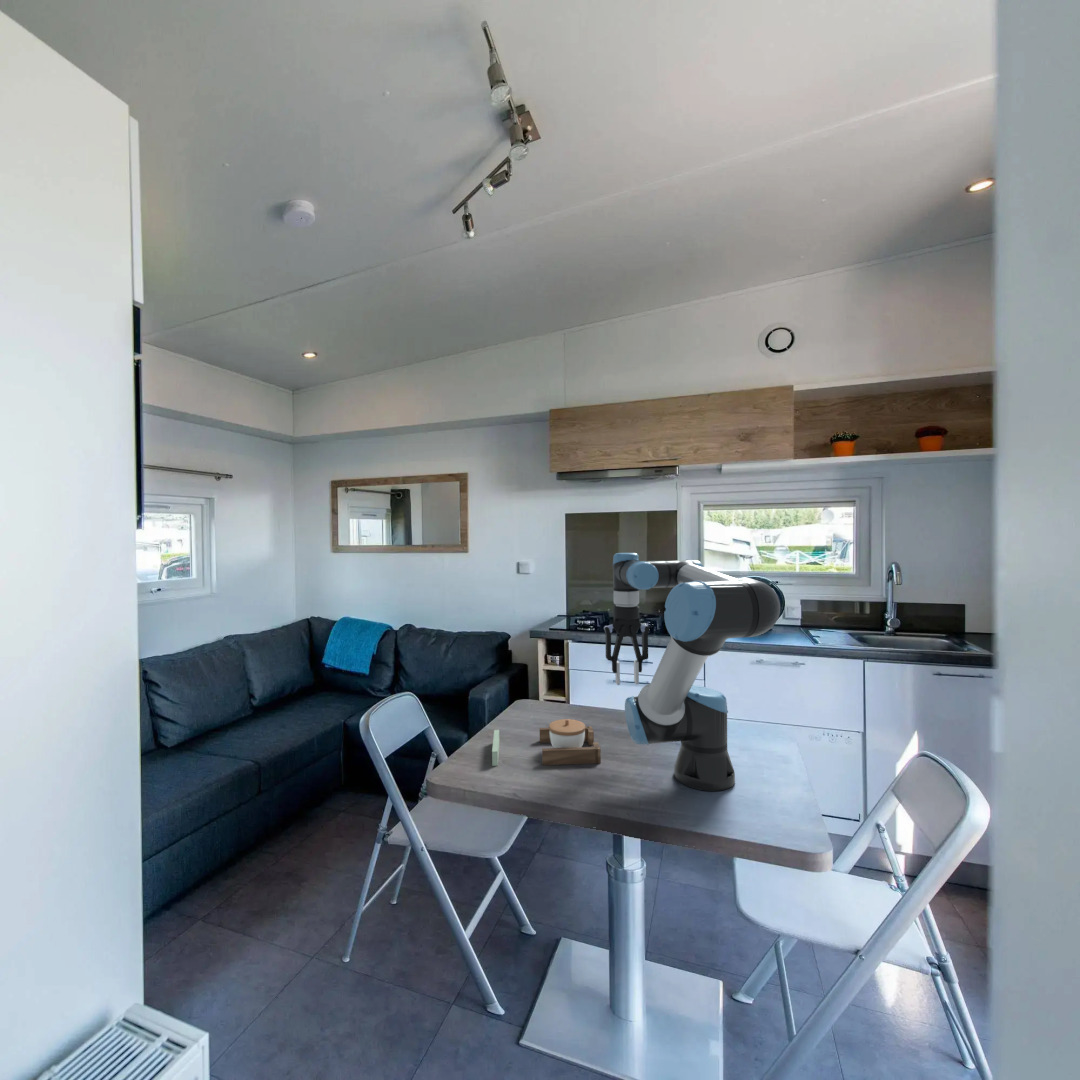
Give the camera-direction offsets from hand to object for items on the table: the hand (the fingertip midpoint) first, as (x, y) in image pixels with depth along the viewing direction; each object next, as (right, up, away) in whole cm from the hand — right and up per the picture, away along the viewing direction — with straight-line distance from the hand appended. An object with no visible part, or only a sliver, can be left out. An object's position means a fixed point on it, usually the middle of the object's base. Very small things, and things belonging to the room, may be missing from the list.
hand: (627, 683), depth 154 cm
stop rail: (-39, -20, -2) cm, 44 cm away
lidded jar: (-18, -20, -1) cm, 27 cm away
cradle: (-18, -20, -1) cm, 27 cm away
